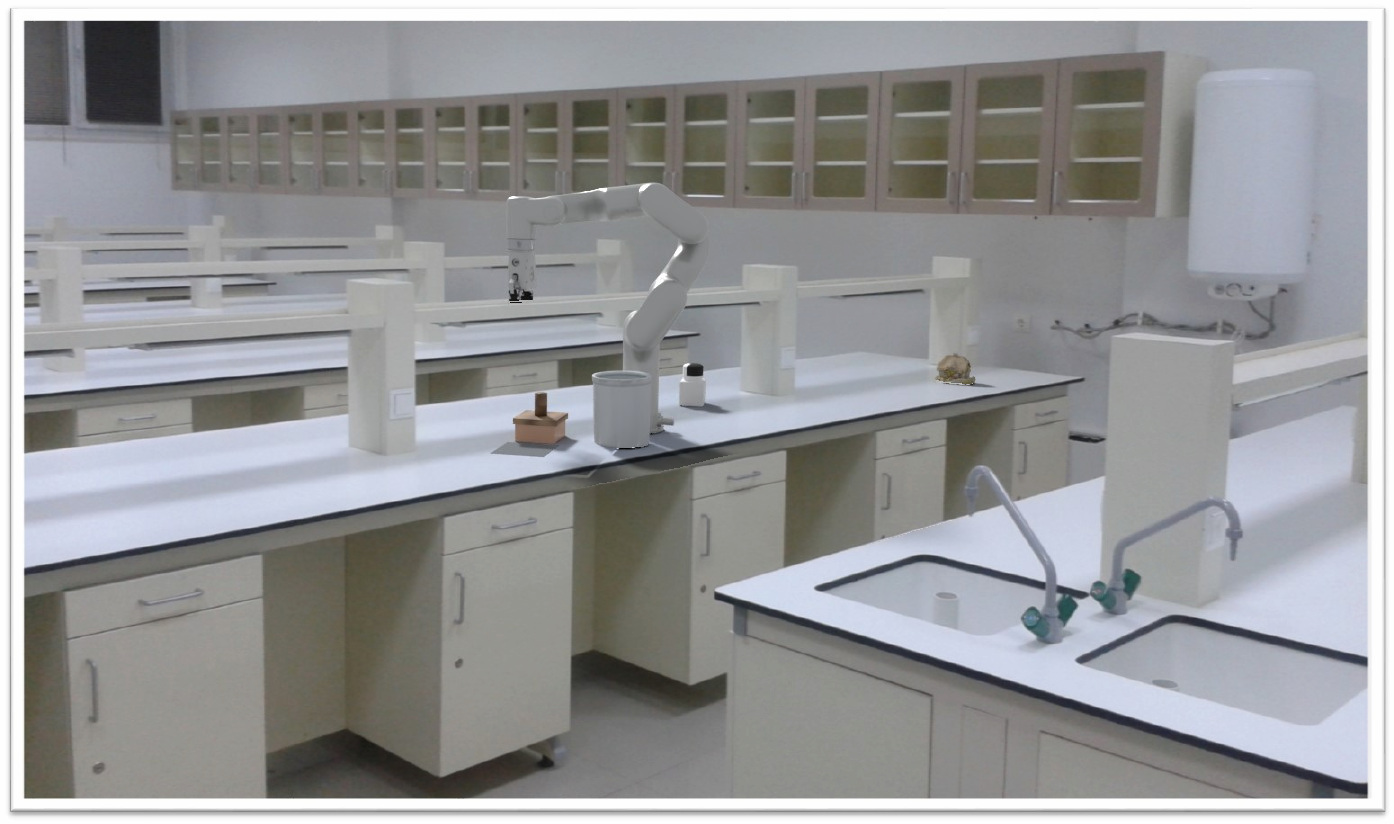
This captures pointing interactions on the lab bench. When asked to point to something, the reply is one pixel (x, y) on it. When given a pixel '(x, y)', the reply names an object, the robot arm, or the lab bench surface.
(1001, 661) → the lab bench surface
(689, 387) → the medicine bottle
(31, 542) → the lab bench surface
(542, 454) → the mat
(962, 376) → the ceramic model
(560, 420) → the lid
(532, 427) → the orange open box
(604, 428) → the utensil holder
